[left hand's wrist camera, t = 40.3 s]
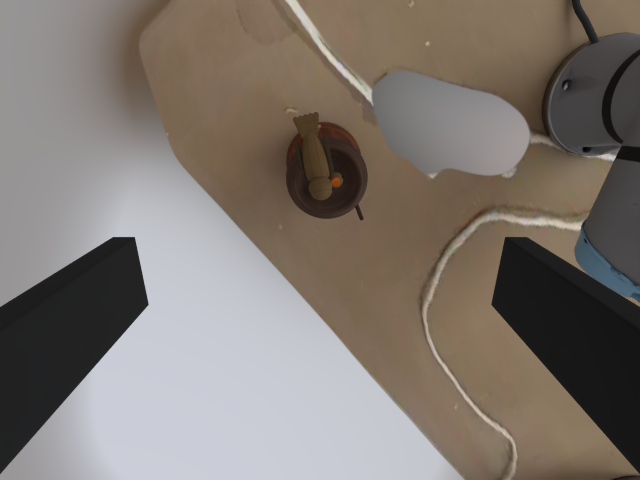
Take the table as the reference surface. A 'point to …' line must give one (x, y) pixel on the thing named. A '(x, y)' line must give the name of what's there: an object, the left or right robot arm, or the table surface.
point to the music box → (325, 169)
